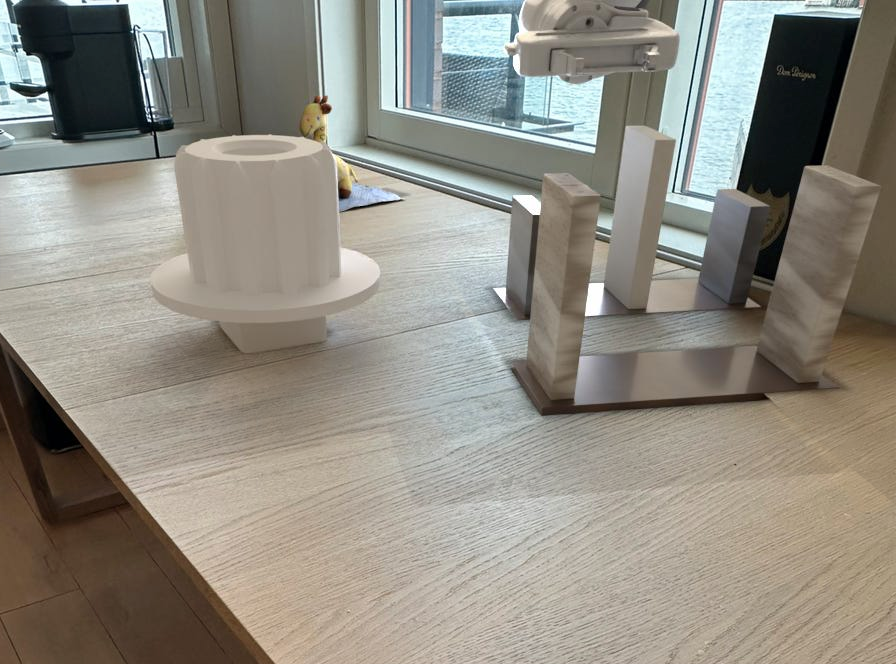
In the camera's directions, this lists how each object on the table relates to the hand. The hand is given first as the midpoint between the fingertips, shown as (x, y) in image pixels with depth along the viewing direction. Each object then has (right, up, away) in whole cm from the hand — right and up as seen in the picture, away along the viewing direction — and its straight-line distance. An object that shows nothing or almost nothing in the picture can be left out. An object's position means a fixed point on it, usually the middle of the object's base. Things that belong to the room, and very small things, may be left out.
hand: (616, 65), depth 100 cm
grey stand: (+3, -25, +8) cm, 26 cm away
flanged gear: (-40, -32, -1) cm, 51 cm away
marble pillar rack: (+3, -40, -11) cm, 42 cm away
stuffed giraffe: (-37, +10, +50) cm, 63 cm away
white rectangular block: (+3, -24, +7) cm, 25 cm away
